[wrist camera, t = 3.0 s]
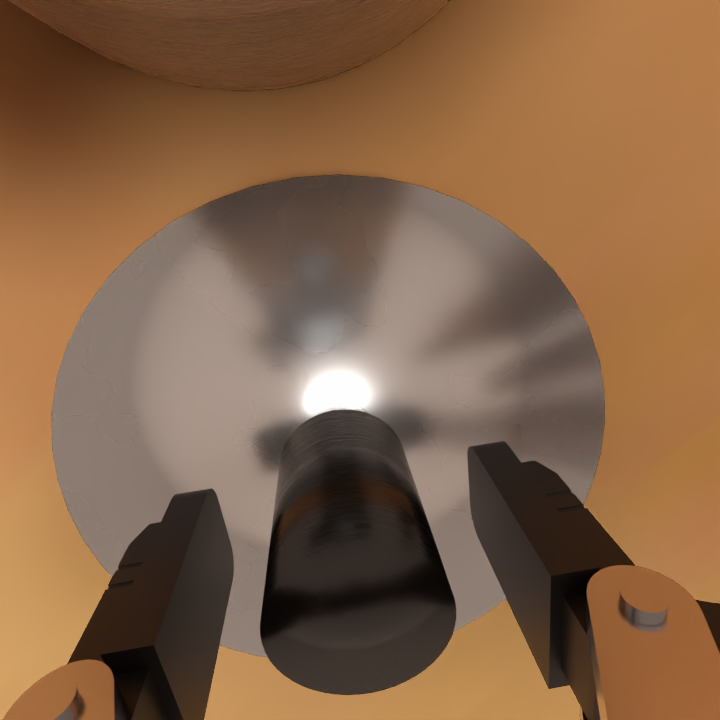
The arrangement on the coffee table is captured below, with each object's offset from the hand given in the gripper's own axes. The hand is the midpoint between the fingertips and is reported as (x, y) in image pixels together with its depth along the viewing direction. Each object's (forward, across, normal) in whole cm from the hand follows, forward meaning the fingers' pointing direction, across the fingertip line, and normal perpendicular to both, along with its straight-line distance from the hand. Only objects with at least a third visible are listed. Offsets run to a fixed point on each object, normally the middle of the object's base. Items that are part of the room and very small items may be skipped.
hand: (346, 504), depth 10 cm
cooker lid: (+3, 0, 0) cm, 3 cm away
